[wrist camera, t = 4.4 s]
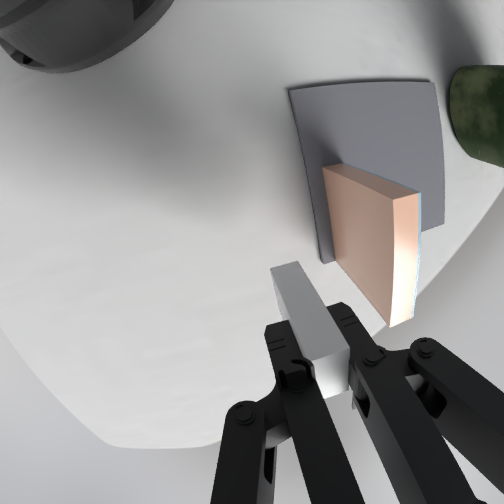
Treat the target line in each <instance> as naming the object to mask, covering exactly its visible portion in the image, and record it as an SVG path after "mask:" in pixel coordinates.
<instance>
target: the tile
mask: <svg viewBox="0 0 504 504" xmlns="http://www.w3.org/2000/svg"><path fill="white" fill-rule="evenodd" d="M322 170H323V176H324V182H325V188H326V194H327V200H328V207H329V214H330V221H331V228H332V236H333V244H334V253H335V261H336V262H337V263H338V264H339V265H340V267H341V268H342V269H343V270H344V271H345V273H346V274H347V275H348V276H349V277H350V279H351V280H352V281H353V282H354V283H355V285H356V286H357V287H358V288H359V289H360V291H361V292H362V293H363V294H364V296H365V297H366V298H367V299H368V301H369V302H370V303H371V304H372V306H373V307H374V308H375V309H376V311H377V312H378V313H379V314H380V316H381V317H382V318H383V319H384V321H385V322H386V323H387V325H388V326H389V327H392V326H394V325H397V324H399V323H401V322H403V321H406V320H408V319H410V318H412V317H413V314H414V306H415V300H416V292H417V283H418V273H419V261H420V244H421V192H419V191H417V190H414V189H412V188H410V187H407V186H405V185H402V184H400V183H397V182H395V181H392V180H390V179H387V178H385V177H382V176H380V175H377V174H374V173H371V172H369V171H366V170H363V169H360V168H358V167H355V166H352V165H349V164H346V163H340V164H335V165H330V166H326V167H322Z"/></svg>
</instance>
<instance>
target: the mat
mask: <svg viewBox="0 0 504 504" xmlns="http://www.w3.org/2000/svg"><path fill="white" fill-rule="evenodd" d="M288 92H289V96H290V100H291V104H292V108H293V112H294V116H295V121H296V125H297V129H298V134H299V138H300V143H301V148H302V152H303V157H304V162H305V167H306V172H307V177H308V182H309V188H310V193H311V199H312V204H313V210H314V216H315V222H316V228H317V235H318V241H319V248H320V255H321V262H322V263H323V264H326V263H329V262H332V261H335V253H334V244H333V236H332V228H331V221H330V214H329V207H328V200H327V194H326V188H325V182H324V176H323V170H322V167H326V166H330V165H335V164H340V163H346V164H349V165H352V166H355V167H358V168H360V169H363V170H366V171H369V172H371V173H374V174H377V175H380V176H382V177H385V178H387V179H390V180H392V181H395V182H397V183H400V184H402V185H405V186H407V187H410V188H412V189H414V190H417V191H419V192H421V232H423V231H425V230H428V229H431V228H434V227H437V226H439V225H442V224H444V212H445V172H444V153H443V140H442V130H441V121H440V114H439V107H438V101H437V95H436V89H435V84H434V83H430V82H364V83H348V84H337V85H327V86H318V87H310V88H303V89H296V90H290V91H288Z"/></svg>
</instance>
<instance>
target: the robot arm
mask: <svg viewBox="0 0 504 504" xmlns="http://www.w3.org/2000/svg"><path fill="white" fill-rule="evenodd" d="M173 2H174V0H0V46H1V47H2V48H3V49H4V50H5V51H6V52H7V53H8V55H9V56H10V57H11V58H12V59H13V60H14V61H16V62H17V63H18V64H20V65H22V66H24V67H26V68H29V69H33V70H38V71H42V72H47V73H66V72H72V71H77V70H80V69H84V68H87V67H90V66H92V65H95V64H97V63H99V62H101V61H103V60H105V59H107V58H109V57H111V56H113V55H115V54H116V53H118V52H120V51H121V50H123V49H124V48H126V47H127V46H129V45H130V44H132V43H133V42H134V41H136V40H137V39H138V38H140V37H141V36H142V35H143V34H144V33H146V32H147V31H148V30H149V29H150V28H151V27H152V26H153V25H154V24H155V23H156V22H157V21H158V20H159V19H160V18H161V17H162V16H163V15H164V14H165V12H166V11H167V10H168V9H169V7H170V6H171V4H172V3H173ZM270 271H271V275H272V280H273V284H274V288H275V293H276V297H277V302H278V306H279V310H280V312H281V315H282V318H283V321H281V322H277V323H274V324H270V325H267V326H266V330H265V333H264V336H265V340H266V343H267V347H268V351H269V355H270V358H271V362H272V366H273V369H274V373H275V379H276V384H275V387H274V389H273V390H272V392H271V393H270V394H269V395H267V396H266V397H264V398H263V399H261V400H259V401H257V402H254V401H241V402H238V403H236V404H235V405H233V406H232V407H231V408H230V409H229V410H228V412H227V415H226V418H225V424H224V429H223V435H222V441H221V446H220V452H219V458H218V463H217V469H216V474H215V480H214V485H213V491H212V496H211V502H210V504H273V501H274V488H275V473H276V456H277V445H278V444H280V443H282V442H283V441H285V440H287V439H288V438H290V437H292V438H293V442H294V445H295V449H296V452H297V456H298V459H299V463H300V466H301V470H302V473H303V477H304V480H305V484H306V487H307V490H308V494H309V497H310V501H311V504H365V502H364V500H363V497H362V494H361V492H360V489H359V486H358V484H357V481H356V479H355V476H354V474H353V471H352V469H351V466H350V464H349V461H348V458H347V456H346V453H345V451H344V448H343V446H342V443H341V441H340V438H339V436H338V433H337V431H336V428H335V426H334V423H333V421H332V418H331V416H330V413H329V411H328V408H327V406H326V403H325V401H324V399H325V398H328V397H331V396H334V395H336V394H340V393H342V392H345V391H347V390H349V385H350V387H351V389H352V390H353V398H352V408H353V409H355V406H356V407H357V409H358V411H359V413H360V415H361V418H362V420H363V422H364V424H365V426H366V428H367V431H368V433H369V435H370V437H371V439H372V441H373V444H374V446H375V448H376V450H377V452H378V454H379V457H380V459H381V461H382V463H383V466H384V468H385V470H386V473H387V475H388V477H389V479H390V482H391V484H392V486H393V489H394V491H395V493H396V495H397V498H398V500H399V502H400V504H487V503H486V502H484V501H481V500H478V499H477V498H476V497H475V495H474V493H473V491H472V489H471V488H470V486H469V484H468V482H467V480H466V478H465V476H464V474H463V472H462V471H461V468H460V467H459V465H458V463H457V461H456V459H455V458H454V456H453V454H452V453H451V451H450V449H449V447H448V445H447V444H446V442H445V440H444V438H445V439H446V440H448V442H450V443H451V444H452V445H453V446H454V447H455V448H456V449H457V450H458V451H459V452H460V453H461V454H462V455H463V456H464V457H465V458H466V459H467V460H468V461H469V462H470V463H471V464H472V465H474V466H475V467H476V468H477V469H478V470H479V471H480V472H481V473H482V474H483V475H484V476H485V477H486V478H487V479H488V480H489V481H490V482H491V483H492V484H493V485H494V486H495V487H496V488H498V489H499V490H500V491H501V492H502V493H503V494H504V393H503V392H502V391H501V390H500V389H498V388H497V387H496V386H494V385H493V384H492V383H491V382H489V381H488V380H487V379H486V378H484V377H483V376H482V375H480V374H479V373H478V372H477V371H475V370H474V369H473V368H471V367H470V366H469V365H468V364H466V363H465V362H464V361H462V360H461V359H460V358H459V357H457V356H456V355H454V354H453V353H452V352H451V351H449V350H448V349H447V348H445V347H444V346H442V345H441V344H440V343H439V342H437V341H436V340H434V339H432V338H426V337H425V338H419V339H417V340H415V341H414V342H413V343H412V344H411V346H410V349H405V350H398V351H388V350H386V349H385V348H383V347H381V346H377V345H376V344H375V342H374V341H373V339H372V338H371V336H370V335H369V333H368V332H367V330H366V329H365V328H364V326H363V325H362V323H361V322H360V320H359V319H358V317H357V316H356V315H355V313H354V312H353V310H352V309H351V307H349V306H348V305H346V304H344V303H342V302H340V303H337V304H334V305H331V306H327V307H326V306H325V305H324V303H323V301H322V300H321V298H320V296H319V295H318V293H317V291H316V290H315V288H314V287H313V285H312V283H311V282H310V280H309V278H308V277H307V275H306V273H305V272H304V270H303V269H302V267H301V265H300V264H299V262H298V261H295V262H291V263H288V264H284V265H281V266H277V267H274V268H270ZM442 436H443V437H444V438H443V437H442Z"/></svg>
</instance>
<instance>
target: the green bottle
mask: <svg viewBox="0 0 504 504" xmlns="http://www.w3.org/2000/svg"><path fill="white" fill-rule="evenodd" d="M450 113H451V119H452V122H453V126H454V130H455V134H456V136H457V138H458V141H459V143H460V144H461V146H462V147H463V149H464V150H465V152H466V153H467V154H468V155H469V156H470V157H472V158H475V159H478V160H481V161H484V162H487V163H490V164H493V165H496V166H499V167H502V168H504V65H470V66H465V67H461V68H459V69H458V70H457V71H456V74H455V76H454V78H453V80H452V82H451V87H450Z"/></svg>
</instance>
